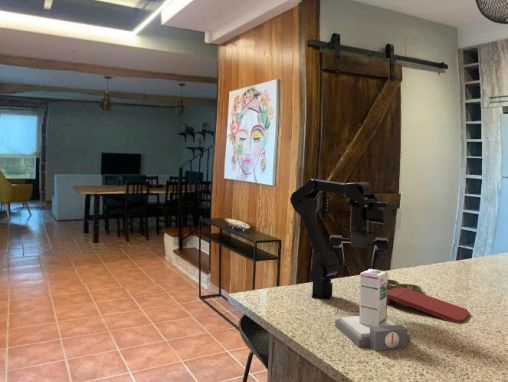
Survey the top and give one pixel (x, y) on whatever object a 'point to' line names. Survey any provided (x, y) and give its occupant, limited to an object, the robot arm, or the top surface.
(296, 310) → the top surface
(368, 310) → the syrup box
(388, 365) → the top surface
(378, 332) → the kitchen scale
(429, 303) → the red wedge doorstop
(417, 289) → the cookie cutter
